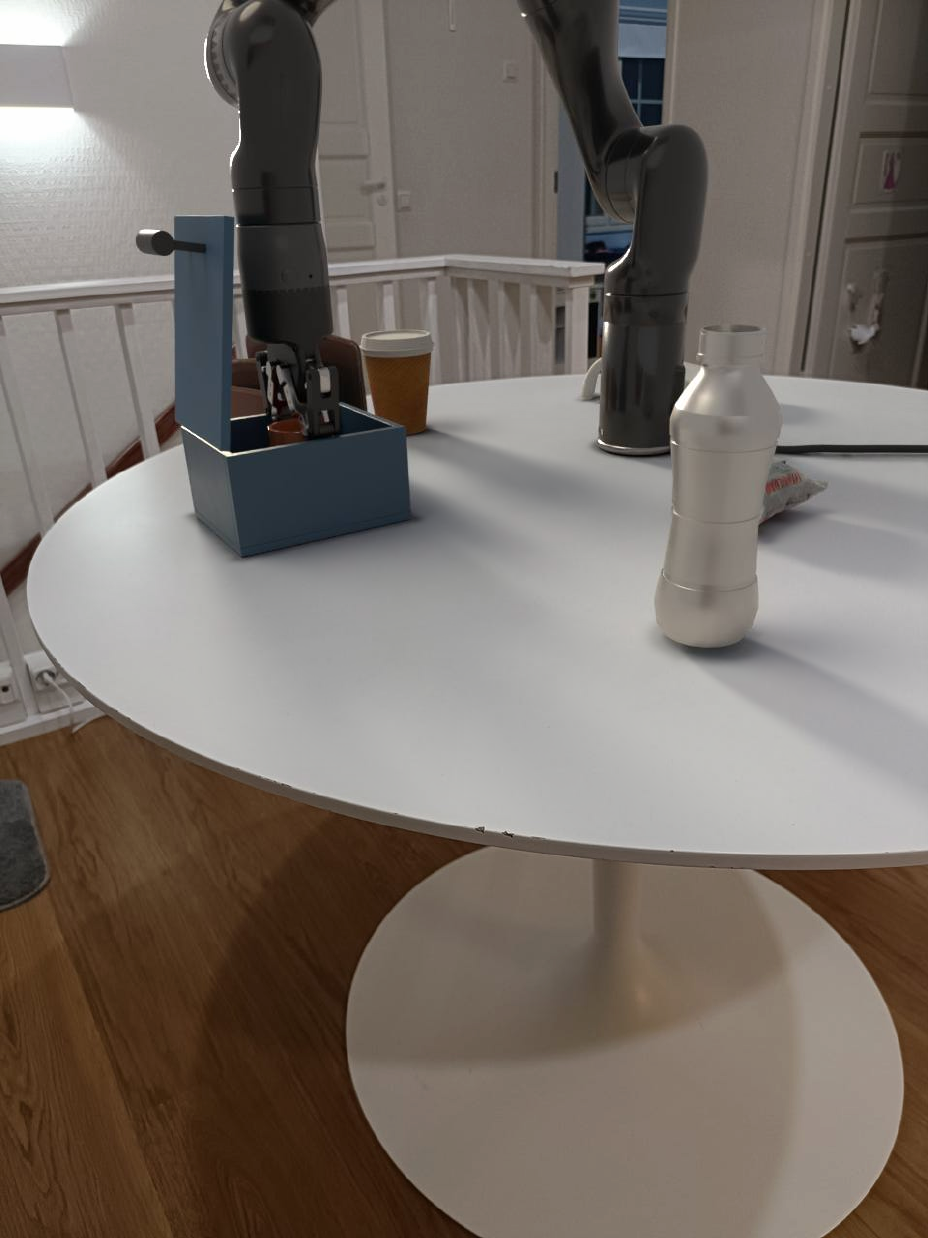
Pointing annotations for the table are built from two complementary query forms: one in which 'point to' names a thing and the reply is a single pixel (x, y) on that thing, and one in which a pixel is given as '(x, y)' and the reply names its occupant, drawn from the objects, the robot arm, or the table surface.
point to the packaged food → (787, 489)
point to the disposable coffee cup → (399, 375)
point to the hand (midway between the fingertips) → (305, 470)
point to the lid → (201, 320)
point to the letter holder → (332, 354)
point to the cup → (285, 432)
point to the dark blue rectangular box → (299, 482)
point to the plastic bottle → (718, 490)
